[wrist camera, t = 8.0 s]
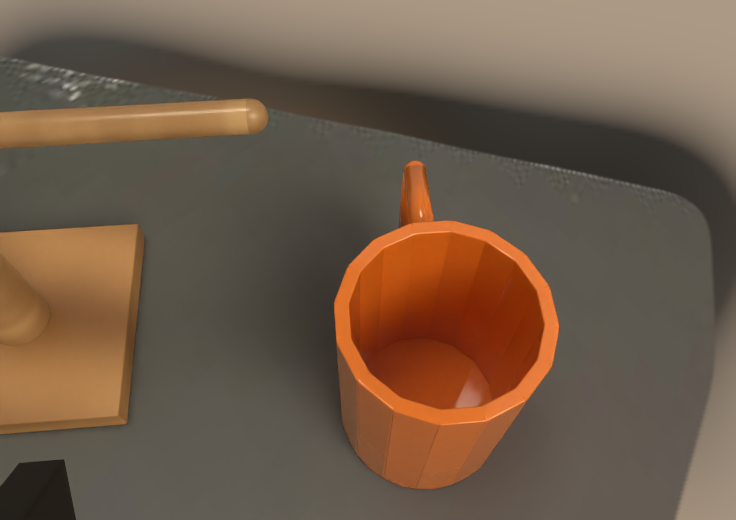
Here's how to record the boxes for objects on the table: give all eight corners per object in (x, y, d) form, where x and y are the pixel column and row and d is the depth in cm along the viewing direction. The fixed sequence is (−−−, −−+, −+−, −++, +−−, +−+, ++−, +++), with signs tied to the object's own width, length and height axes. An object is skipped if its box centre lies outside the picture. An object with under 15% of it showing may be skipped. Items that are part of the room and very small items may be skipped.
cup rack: (305, 410, 37) (250, 167, 18) (-102, 442, 35) (-619, 219, 17) (298, 226, 43) (250, -100, 24) (-51, 249, 41) (-390, -76, 23)
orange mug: (515, 481, 35) (582, 413, 24) (347, 496, 34) (342, 433, 24) (472, 254, 42) (509, 125, 31) (331, 263, 41) (322, 135, 31)
